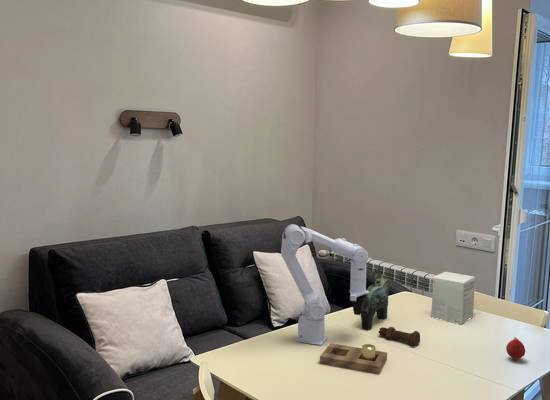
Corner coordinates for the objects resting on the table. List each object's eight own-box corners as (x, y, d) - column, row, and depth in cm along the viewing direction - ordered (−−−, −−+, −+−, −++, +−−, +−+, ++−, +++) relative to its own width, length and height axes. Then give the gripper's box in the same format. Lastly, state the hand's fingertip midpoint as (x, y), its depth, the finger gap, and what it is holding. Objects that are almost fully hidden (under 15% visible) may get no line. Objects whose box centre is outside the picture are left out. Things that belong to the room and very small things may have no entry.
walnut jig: (319, 363, 173) (319, 356, 173) (330, 349, 184) (330, 343, 184) (379, 374, 166) (379, 366, 165) (387, 359, 177) (387, 352, 176)
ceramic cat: (378, 314, 221) (380, 268, 218) (393, 318, 217) (394, 271, 215) (357, 328, 205) (358, 279, 202) (372, 332, 201) (373, 282, 199)
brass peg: (359, 365, 172) (360, 348, 171) (363, 360, 176) (364, 343, 175) (373, 368, 170) (373, 350, 169) (376, 362, 174) (377, 345, 173)
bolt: (381, 340, 199) (418, 349, 189) (375, 337, 195) (413, 346, 185) (384, 325, 200) (421, 333, 191) (379, 321, 197) (416, 330, 187)
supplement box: (474, 316, 219) (476, 276, 217) (461, 325, 209) (463, 282, 207) (443, 309, 228) (445, 270, 225) (430, 317, 218) (432, 276, 216)
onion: (523, 357, 178) (524, 335, 177) (525, 364, 173) (527, 341, 172) (504, 355, 180) (506, 333, 179) (506, 362, 175) (507, 339, 174)
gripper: (364, 285, 184) (363, 322, 185) (373, 275, 197) (372, 309, 199) (344, 282, 187) (344, 319, 188) (355, 273, 200) (354, 307, 201)
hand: (357, 314), depth 194 cm, fingers closed
